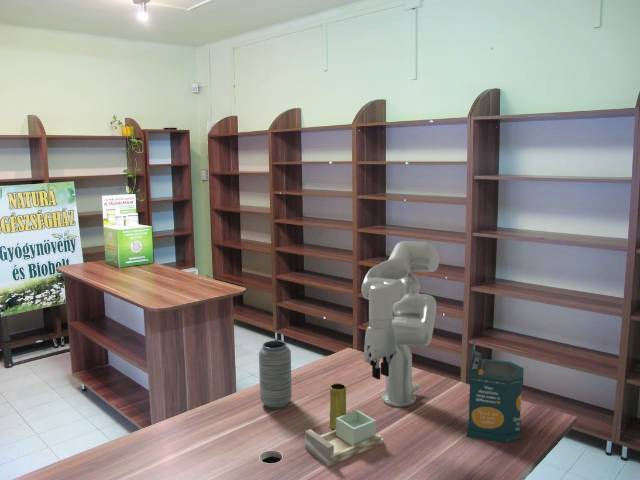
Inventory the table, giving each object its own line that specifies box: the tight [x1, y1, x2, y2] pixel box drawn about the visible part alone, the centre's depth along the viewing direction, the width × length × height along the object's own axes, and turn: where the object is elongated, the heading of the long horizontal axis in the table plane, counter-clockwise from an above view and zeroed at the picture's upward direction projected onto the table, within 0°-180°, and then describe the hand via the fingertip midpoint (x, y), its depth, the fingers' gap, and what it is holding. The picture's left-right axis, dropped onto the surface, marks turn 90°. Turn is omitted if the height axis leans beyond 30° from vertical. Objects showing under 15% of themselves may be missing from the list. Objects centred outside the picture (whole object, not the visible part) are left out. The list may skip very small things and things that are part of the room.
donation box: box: [466, 338, 525, 444], centre depth 177 cm, size 16×16×28 cm
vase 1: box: [258, 340, 293, 410], centre depth 197 cm, size 12×12×23 cm
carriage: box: [336, 409, 377, 446], centre depth 172 cm, size 9×9×6 cm
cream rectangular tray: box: [304, 428, 385, 467], centre depth 170 cm, size 22×12×6 cm, turn 126°
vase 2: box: [328, 382, 347, 431], centre depth 181 cm, size 6×6×14 cm
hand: (380, 376), depth 176 cm, fingers open, 3 cm apart
